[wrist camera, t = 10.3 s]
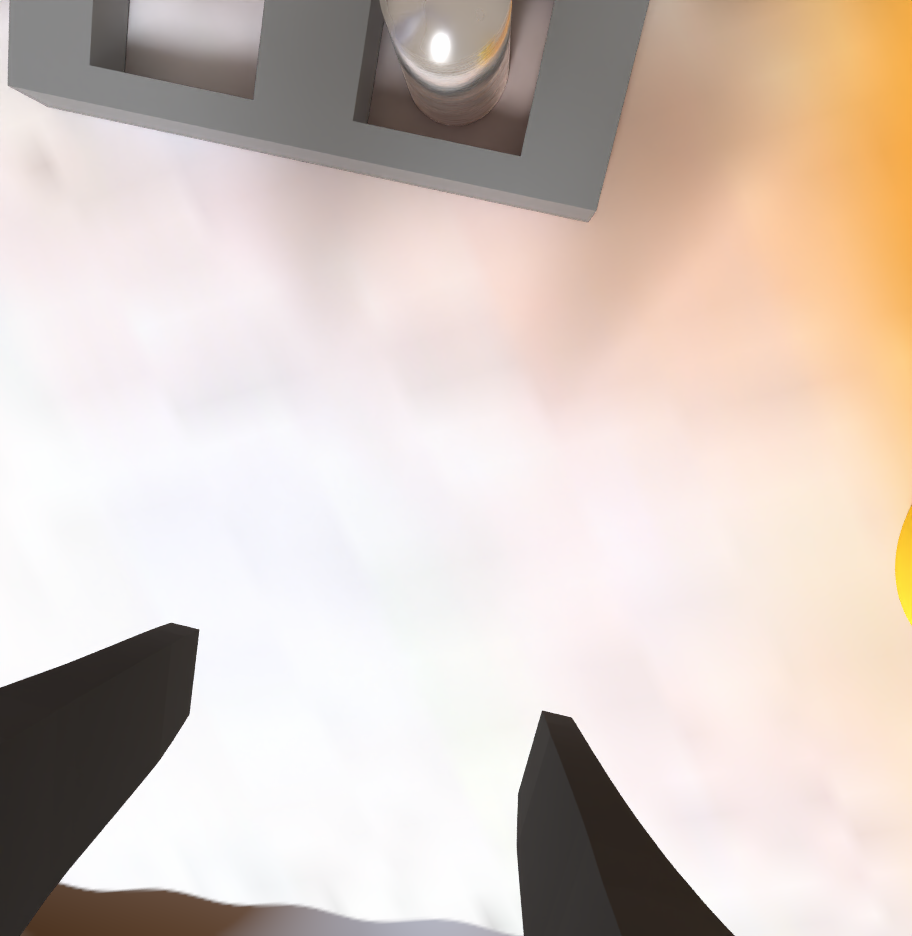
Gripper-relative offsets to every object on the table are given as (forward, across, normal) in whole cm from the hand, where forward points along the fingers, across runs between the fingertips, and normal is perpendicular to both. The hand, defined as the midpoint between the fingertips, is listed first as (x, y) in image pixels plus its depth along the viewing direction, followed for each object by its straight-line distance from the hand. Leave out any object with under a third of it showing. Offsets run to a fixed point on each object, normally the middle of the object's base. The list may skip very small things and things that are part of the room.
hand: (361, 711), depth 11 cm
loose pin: (+9, +2, -16) cm, 18 cm away
